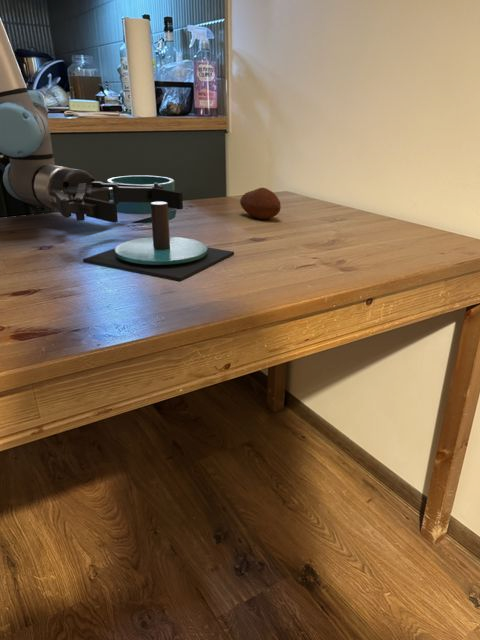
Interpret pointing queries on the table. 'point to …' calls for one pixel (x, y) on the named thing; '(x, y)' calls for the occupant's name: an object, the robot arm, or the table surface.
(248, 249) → the table surface
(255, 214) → the potato
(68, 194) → the robot arm
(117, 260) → the placemat
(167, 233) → the tin lid
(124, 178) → the green round tin
